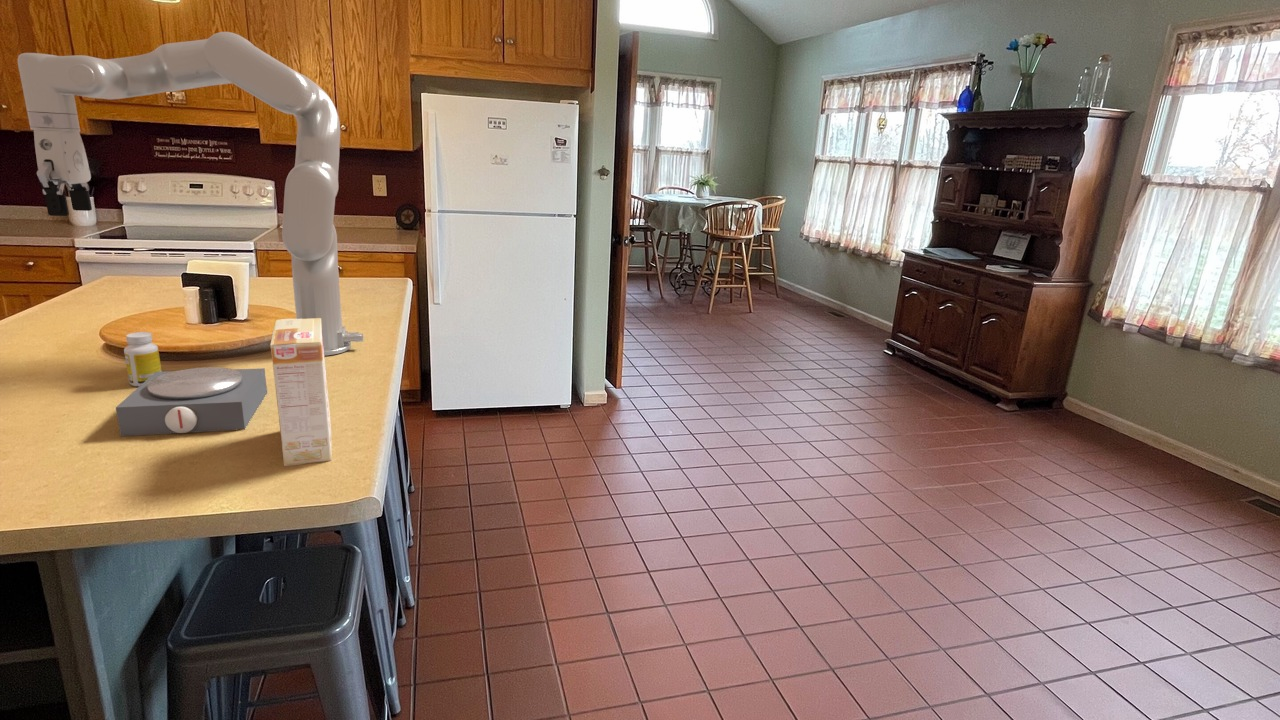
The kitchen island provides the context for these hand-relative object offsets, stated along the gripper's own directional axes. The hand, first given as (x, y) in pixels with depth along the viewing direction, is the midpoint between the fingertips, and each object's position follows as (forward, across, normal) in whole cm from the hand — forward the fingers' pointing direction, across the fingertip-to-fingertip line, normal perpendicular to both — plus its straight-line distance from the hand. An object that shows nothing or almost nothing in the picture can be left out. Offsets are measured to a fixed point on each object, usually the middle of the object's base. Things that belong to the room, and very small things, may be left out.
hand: (71, 212), depth 140 cm
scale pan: (+25, -36, -29) cm, 53 cm away
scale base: (+30, -36, -29) cm, 56 cm away
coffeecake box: (+31, -53, -50) cm, 79 cm away
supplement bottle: (+31, -18, -15) cm, 39 cm away
